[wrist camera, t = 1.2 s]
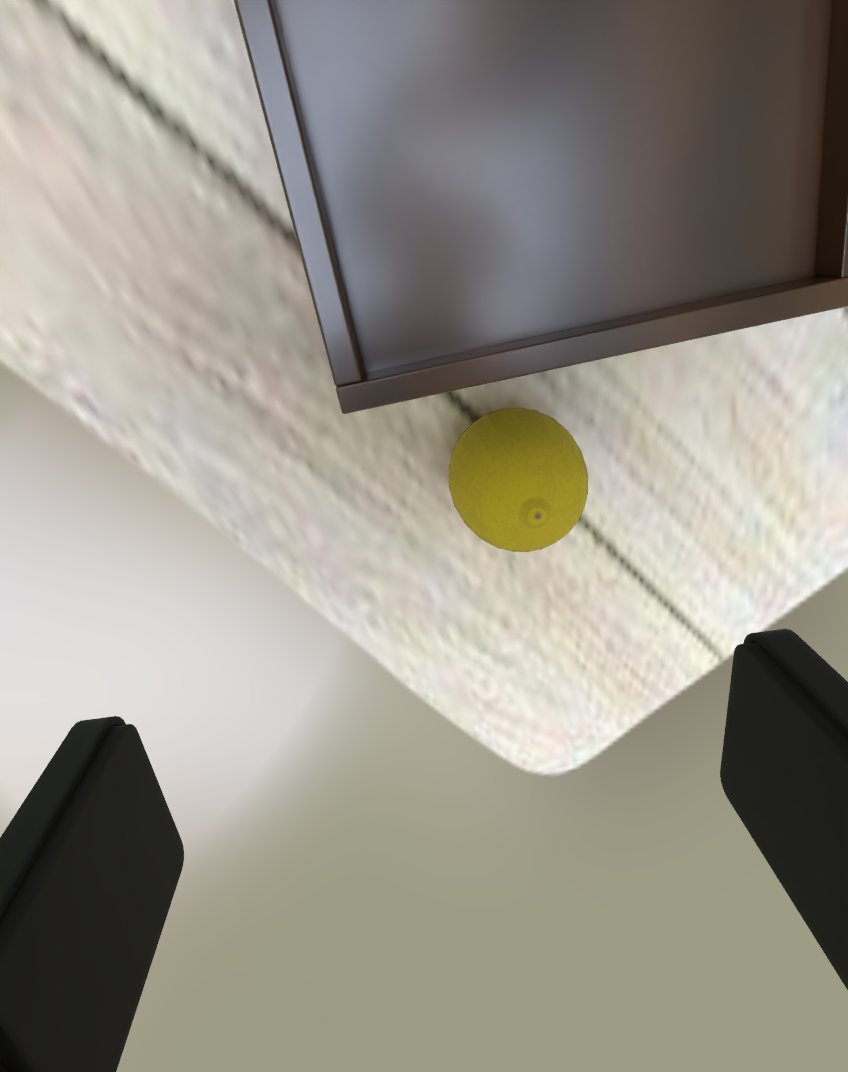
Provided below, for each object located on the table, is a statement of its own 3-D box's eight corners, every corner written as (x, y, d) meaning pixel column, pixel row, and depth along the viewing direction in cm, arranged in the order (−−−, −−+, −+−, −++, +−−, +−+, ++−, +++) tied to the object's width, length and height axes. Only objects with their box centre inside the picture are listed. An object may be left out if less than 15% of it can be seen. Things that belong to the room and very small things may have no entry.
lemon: (564, 489, 30) (620, 568, 23) (453, 513, 31) (473, 598, 23) (551, 377, 28) (608, 425, 21) (430, 404, 28) (445, 460, 21)
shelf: (698, -51, 22) (926, -264, 13) (700, 280, 27) (867, 302, 17) (282, 47, 22) (210, -87, 13) (357, 355, 27) (342, 415, 18)
